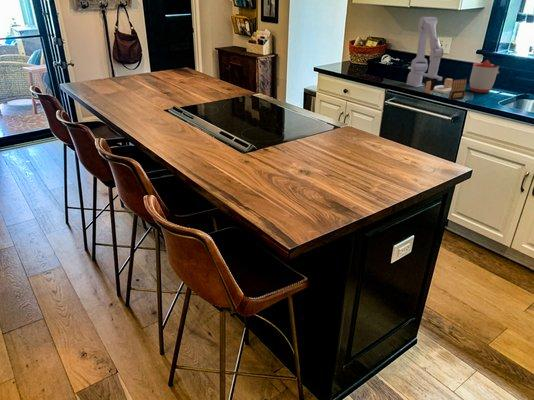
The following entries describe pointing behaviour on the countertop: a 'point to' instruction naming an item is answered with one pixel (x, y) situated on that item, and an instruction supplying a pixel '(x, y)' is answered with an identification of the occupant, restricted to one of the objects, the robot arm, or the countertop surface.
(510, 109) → the countertop surface
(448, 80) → the housing
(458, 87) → the ammunition clip
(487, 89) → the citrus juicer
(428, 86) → the jaw block
